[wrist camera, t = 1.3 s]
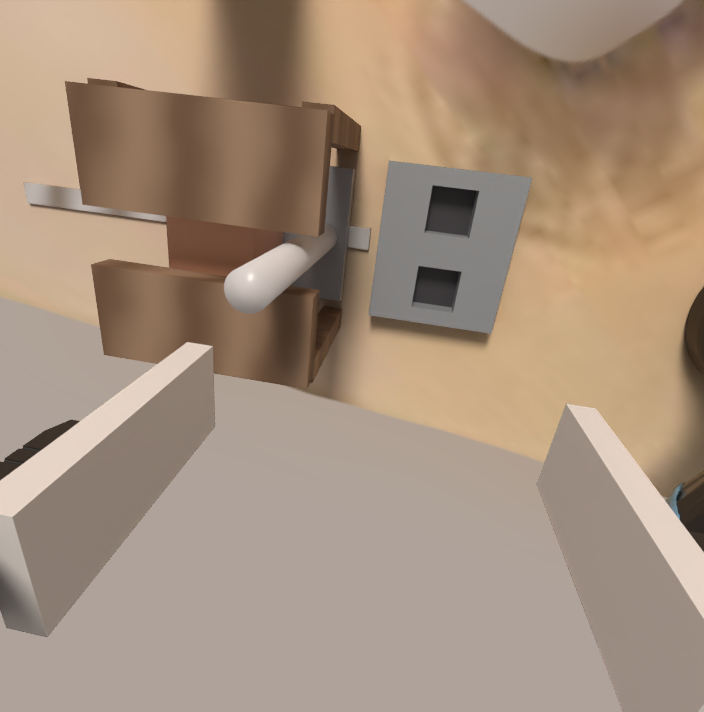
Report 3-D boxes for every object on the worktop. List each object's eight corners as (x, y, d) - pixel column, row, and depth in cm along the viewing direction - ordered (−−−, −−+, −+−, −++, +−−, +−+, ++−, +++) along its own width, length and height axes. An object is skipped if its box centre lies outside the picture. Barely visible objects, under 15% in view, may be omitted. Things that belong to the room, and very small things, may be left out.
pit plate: (526, 177, 37) (532, 177, 35) (488, 326, 43) (491, 333, 41) (390, 161, 38) (389, 160, 36) (370, 309, 44) (368, 315, 42)
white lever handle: (355, 169, 38) (291, 167, 19) (342, 297, 43) (280, 400, 24) (186, 148, 40) (-36, 126, 20) (192, 275, 45) (18, 355, 25)
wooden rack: (383, 128, 37) (363, 103, 24) (358, 330, 45) (332, 399, 31) (7, 86, 40) (-203, 42, 27) (44, 281, 48) (-103, 325, 34)
